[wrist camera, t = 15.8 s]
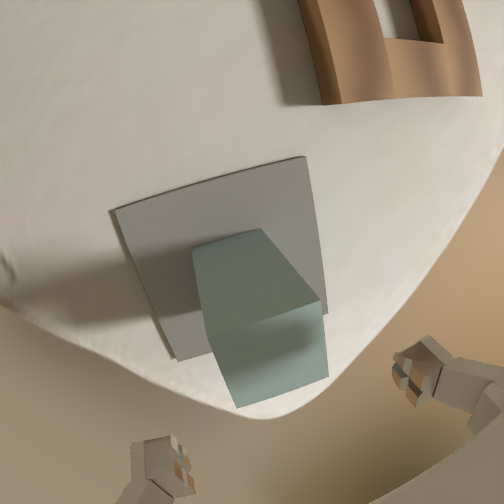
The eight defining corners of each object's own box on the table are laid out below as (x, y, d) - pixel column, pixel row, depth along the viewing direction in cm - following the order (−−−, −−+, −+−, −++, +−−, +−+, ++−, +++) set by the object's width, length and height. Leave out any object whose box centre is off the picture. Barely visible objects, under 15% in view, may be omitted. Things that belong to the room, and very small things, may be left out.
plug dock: (323, 105, 18) (341, 103, 16) (274, -70, 13) (286, -87, 10) (461, 95, 20) (482, 96, 18) (423, -46, 14) (441, -53, 12)
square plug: (210, 308, 21) (236, 408, 13) (191, 248, 20) (207, 337, 11) (273, 288, 22) (328, 376, 14) (260, 228, 20) (320, 299, 12)
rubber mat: (177, 358, 23) (178, 361, 22) (115, 209, 18) (114, 210, 18) (326, 310, 24) (328, 313, 24) (303, 155, 19) (305, 156, 19)
